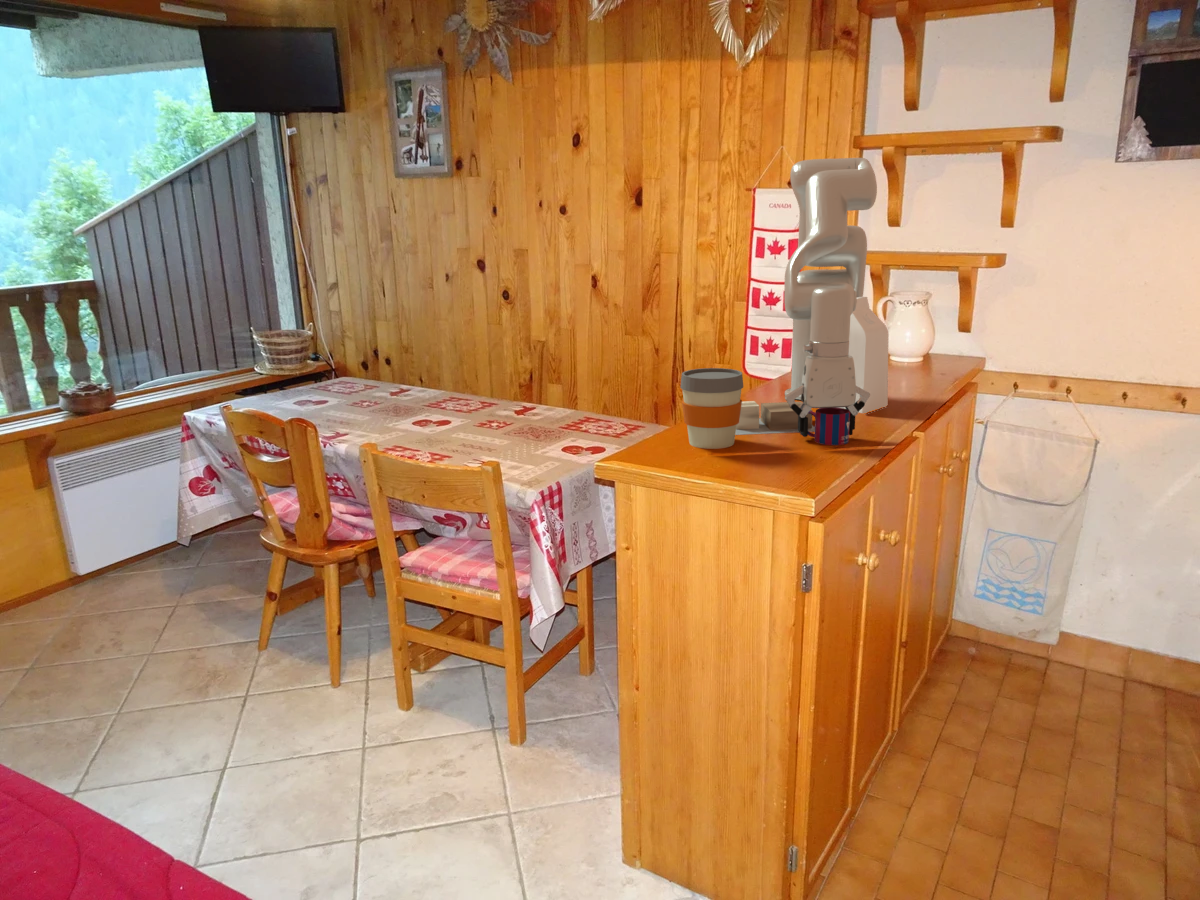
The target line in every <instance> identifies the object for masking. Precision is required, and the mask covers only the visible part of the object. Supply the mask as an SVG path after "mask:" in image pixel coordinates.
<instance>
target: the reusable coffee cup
mask: <svg viewBox="0 0 1200 900" xmlns="http://www.w3.org/2000/svg"><path fill="white" fill-rule="evenodd" d="M680 389H681V391H682V395H683V398H682V400H681V406H682V413H683V418H684V424H685V425H686V427H687V434H688V442H689V445H690V446H692V447H695V448H699V449H707V450H709V449H710V450H711V449H713V450H716V449H717V450H718V449H725V448H729V447H732V446H733V445H734V444H735V438H736V435H735V433H736V425H737V424H738V423H739V419H740V411H741V404H742V402H743V401H742V399H741V397H742V395H741V394H742V389H744V379H743V372H742V371H741V370H738V369H732V368H725V367H724V368H721V367H720V368H719V367H710V368H709V367H708V368H706V367H705V368H695V369H690V370H689V369H688V370H685V371H683V372H681V379H680Z"/></svg>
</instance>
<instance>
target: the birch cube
mask: <svg viewBox="0 0 1200 900" xmlns="http://www.w3.org/2000/svg"><path fill="white" fill-rule="evenodd" d="M759 418H760V405H759V404H758V403H757V402H756V401H755V400H749V401H748V400H747V401H742V404H741V411H740V419H739V423H738V424H737V425H736V429H758V428H759Z"/></svg>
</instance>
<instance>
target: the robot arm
mask: <svg viewBox="0 0 1200 900" xmlns="http://www.w3.org/2000/svg"><path fill="white" fill-rule="evenodd" d="M789 174H790V185H791V188H792V191H793V194H794V197H795V198H796V202H797V205H798V209H799V220H798V241H797V242H798V245H797V246H798V247H797V248H796V250H794V252H793V253H792V255H791V256H790V258H789V260H788V262H787V265H786V269H785V272H784V290H783V291H784V292H783V294H784V309H785V313H786V315H787V316H788V317H789V318H790V319H792V342H791V343H792V346H791V350H792V351H791V381H790V382H791V383H790V384H791V385H790V388H788V389H786V390H785V391H784V400H785V402H787V403H788V404H789V406H790V408H791V409H792V410H793V411H794V412H795V413H796V414H797V415H798V432H797V433H799V434H800V435H801V436H802V437H803V438H807V437H808V436H809V435H808V418H807V417H806V415H807V413H808V412H809V411H810V410H812V409H819V408H837V407H845V408H846V409H847V410H849V411H850V426H849V436H853V432H854V431H853V430H855V429H856V416H857V415H858V414H859V413H858V412H859V411H860V410H861V409H862V408H863V407H864V405H865V403H866V402H867V400H868V398H869V397H870V393H868V392H867V391H865V390H863V389H861V388H860V387H858V386H856V379H855V367H854V360H853V357H852V356H849V337H850V316H851V314H852V313H853V311H855V309H856V303H857V297H864V291H865V290H864V289H865V281H866V278H865V277H866V267H867V266H866V264H867V255H868V253H867V252H868V239H867V234H866V232H865V230H864V229H863V228H862V227H861V226H858V225H848V211H851V212H852V211H867V210H870V209H871V208H872V207H873V206H874V205H875V202H876V199H877V194H878V182H877V177H876V173H875V170H874V168H873V166H872V164H871V163H870V161H869V159H867V158H864V157H846V158H845V157H844V158H842V157H841V158H816V159H814V158H813V159H804V160H800V161H797V162H796V163H794V164H793V165H792V167H791V169H790V173H789ZM805 266H806V267H813V268H818V267H819V268H822V267H824V268H826V267H828V269H806V270H802V269H803V268H804V267H805ZM830 267H844V268H845V269H841V268H840V269H829V268H830ZM801 270H802V271H801ZM856 393H858V394H859V395H860V398H859V400H858V401H857V402H856V403H855V400H856ZM795 400H798V401H800V402H802V404H801V405H800V407H798V406H797V405H796V403H795V402H796V401H795Z"/></svg>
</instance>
